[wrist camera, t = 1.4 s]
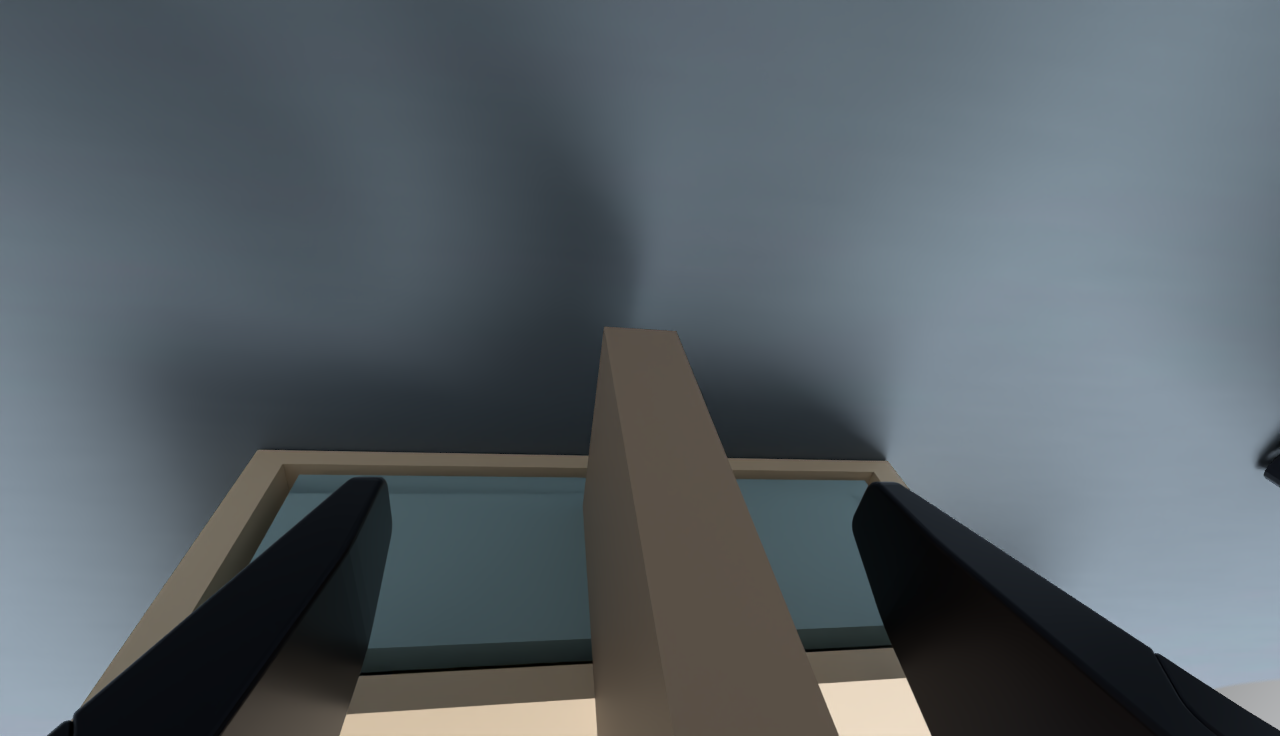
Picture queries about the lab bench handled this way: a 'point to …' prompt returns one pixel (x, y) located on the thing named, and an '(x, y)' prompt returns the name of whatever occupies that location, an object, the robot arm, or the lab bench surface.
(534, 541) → the tray
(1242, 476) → the lab bench surface
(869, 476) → the sleeve
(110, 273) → the lab bench surface
